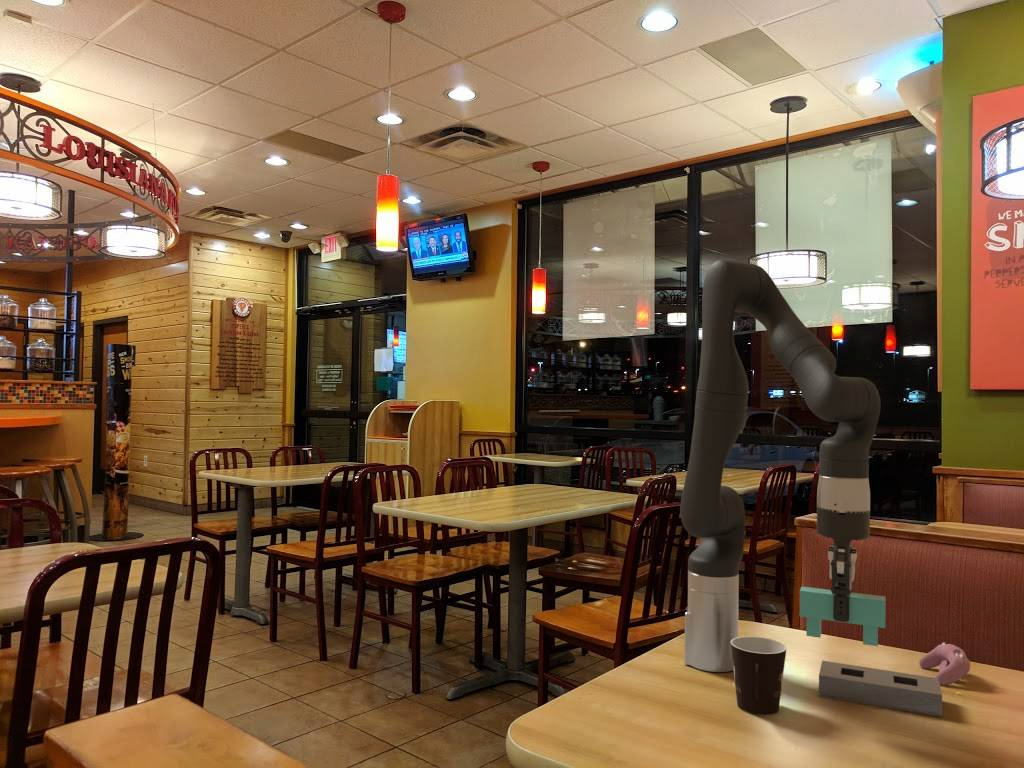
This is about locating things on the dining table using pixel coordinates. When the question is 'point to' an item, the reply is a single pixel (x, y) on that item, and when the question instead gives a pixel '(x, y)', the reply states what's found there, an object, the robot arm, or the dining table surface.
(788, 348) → the robot arm
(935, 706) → the slotted rail
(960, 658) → the video game controller
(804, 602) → the two prong clip
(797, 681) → the dining table surface
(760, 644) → the coffee mug
